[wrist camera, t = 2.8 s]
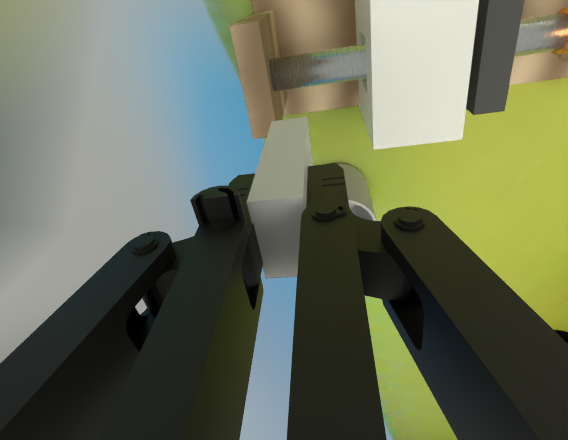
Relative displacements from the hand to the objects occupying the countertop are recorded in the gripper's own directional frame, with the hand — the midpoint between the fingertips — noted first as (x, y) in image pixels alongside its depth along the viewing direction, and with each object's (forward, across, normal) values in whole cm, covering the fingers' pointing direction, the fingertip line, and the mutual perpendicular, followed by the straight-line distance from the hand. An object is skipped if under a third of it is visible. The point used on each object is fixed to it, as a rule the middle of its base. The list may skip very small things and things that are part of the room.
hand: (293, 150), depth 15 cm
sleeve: (+20, +8, 0) cm, 21 cm away
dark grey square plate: (+19, +13, 0) cm, 23 cm away
